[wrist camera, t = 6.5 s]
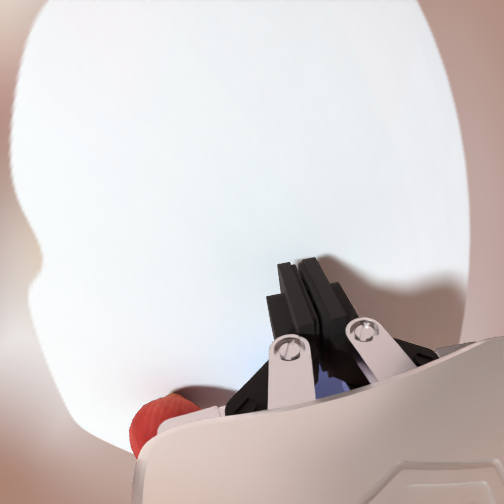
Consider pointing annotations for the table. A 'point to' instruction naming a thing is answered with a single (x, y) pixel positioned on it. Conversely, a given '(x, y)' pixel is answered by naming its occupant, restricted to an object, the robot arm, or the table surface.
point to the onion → (156, 418)
